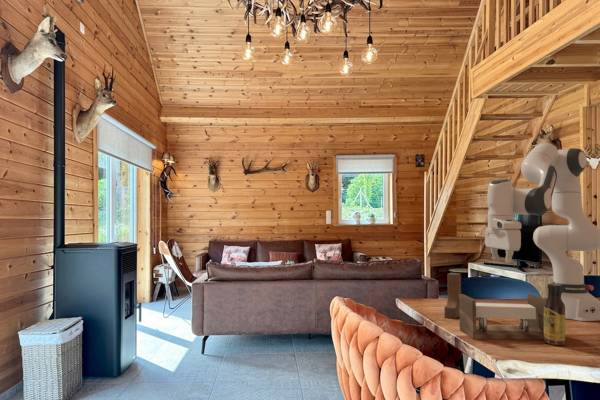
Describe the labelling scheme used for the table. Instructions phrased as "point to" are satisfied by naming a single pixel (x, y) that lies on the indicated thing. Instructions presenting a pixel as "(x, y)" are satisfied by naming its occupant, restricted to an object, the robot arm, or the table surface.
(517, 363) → the table surface
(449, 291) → the wooden block
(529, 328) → the brown open-topped frame
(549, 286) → the sauce bottle
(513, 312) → the white rectangular block
